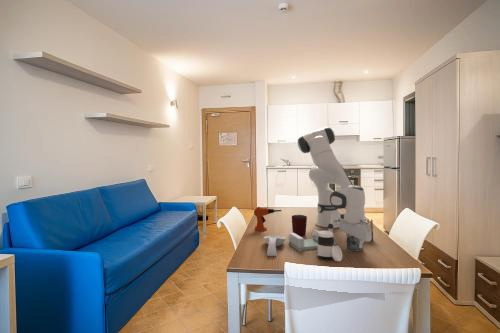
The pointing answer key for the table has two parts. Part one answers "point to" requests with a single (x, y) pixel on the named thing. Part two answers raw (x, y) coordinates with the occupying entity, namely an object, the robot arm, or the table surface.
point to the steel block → (353, 244)
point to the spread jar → (328, 246)
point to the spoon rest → (273, 244)
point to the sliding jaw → (316, 232)
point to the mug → (299, 224)
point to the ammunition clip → (371, 226)
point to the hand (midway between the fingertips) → (354, 245)
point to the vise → (302, 242)
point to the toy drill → (260, 219)
